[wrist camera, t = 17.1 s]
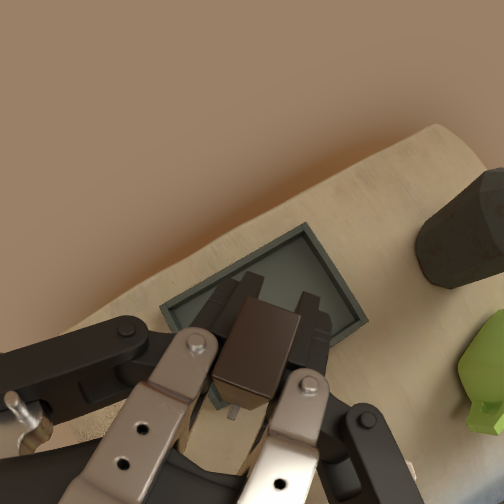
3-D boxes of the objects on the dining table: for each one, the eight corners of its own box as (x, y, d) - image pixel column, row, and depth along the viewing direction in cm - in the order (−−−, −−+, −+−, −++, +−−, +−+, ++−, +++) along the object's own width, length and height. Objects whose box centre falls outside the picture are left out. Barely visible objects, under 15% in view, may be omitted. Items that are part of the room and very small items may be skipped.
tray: (220, 405, 31) (216, 410, 29) (166, 308, 35) (158, 306, 32) (362, 322, 33) (369, 321, 30) (303, 228, 36) (305, 221, 34)
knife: (243, 423, 16) (260, 430, 6) (218, 414, 16) (196, 405, 6) (265, 368, 18) (311, 289, 8) (242, 359, 18) (257, 269, 8)
